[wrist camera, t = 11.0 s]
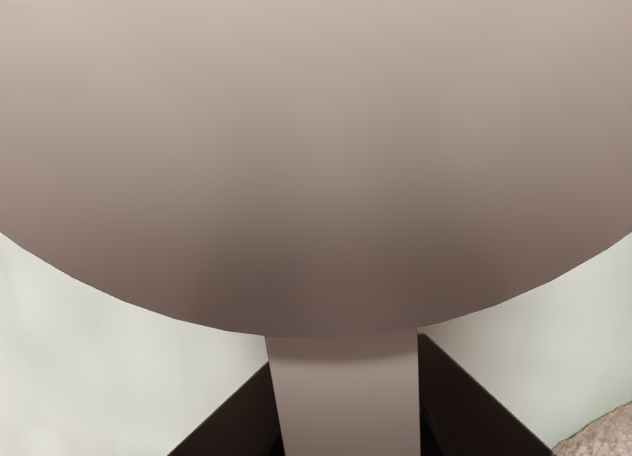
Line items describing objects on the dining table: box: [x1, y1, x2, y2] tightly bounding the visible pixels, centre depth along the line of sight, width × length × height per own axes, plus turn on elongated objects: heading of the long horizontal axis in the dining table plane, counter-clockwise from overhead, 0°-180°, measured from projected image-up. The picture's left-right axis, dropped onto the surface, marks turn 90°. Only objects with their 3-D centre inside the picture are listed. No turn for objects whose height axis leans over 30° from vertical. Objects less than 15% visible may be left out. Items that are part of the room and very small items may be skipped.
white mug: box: [0, 0, 632, 456], centre depth 8 cm, size 10×6×9 cm, turn 6°
